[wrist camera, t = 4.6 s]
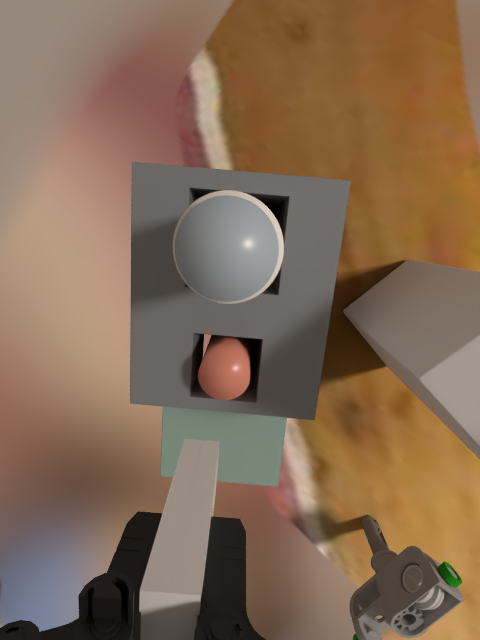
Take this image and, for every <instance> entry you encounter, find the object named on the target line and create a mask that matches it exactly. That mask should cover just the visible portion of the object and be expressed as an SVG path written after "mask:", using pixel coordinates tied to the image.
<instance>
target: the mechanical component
mask: <svg viewBox="0 0 480 640" xmlns="http://www.w3.org/2000/svg"><path fill="white" fill-rule="evenodd" d="M361 523H362V526H363V529H364V531H365V534H366V537H367V539H368V542H369V545H370V547H371V550H372V552H373V556H372V558H371V566H372V568H373V569H374V570H375V572H376V574H375V575H374V576H373V577H372V578H370V579H369V580H368V581H367V582H366V583H365V584H363V585H362V586H361V587H360V588H359V589H357V590H356V591H355V593H354V594H353V595H352V598H351V601H350V613H351V617H352V621H353V625H354V629H355V632H356V634H355V635H354V636H353V640H383V639H382V636H381V634H383V633H384V632H385V631H387V630H388V629H389V628H390V627H391V628H392V630H393V631H394V632H396V633H397V634H399V635H400V636H401V637H404V638H414V637H418V636H420V635H422V634H423V633H425V632H426V631H427V629H428V628H429V627H430V626H431V625H433V624H434V623H435V622H436V621H438V620H439V619H440V618H442V617H443V616H444V615H446V614H447V613H448V612H449V611H451V610H452V609H453V608H455V607H456V606H457V605H459V604H460V603H461V602H462V601H464V600H465V599H464V598H463V596H462V594H461V593H460V591H459V589H458V586H459V585H460V584H461V583H462V580H461V578H460V576H459V575H458V573H457V572H456V571H455V570H454V568H453V567H452V566H451V565H450V564H449V563H447V562H445V561H444V562H443V563H442V564H439V563H438V562H437V561H435V560H434V559H433V558H431V557H430V556H428V555H427V554H426V553H424V552H423V551H422V550H420V549H419V548H417V547H415V546H410V547H407V548H406V549H405V550H403V551H402V552H401V553H400V554H399V555H397V554H396V553H395V552H393V551H390V550H389V548H388V546H387V543H386V541H385V539H384V536H383V534H382V532H381V530H380V527H379V525H378V523H377V520H376V521H375V522H374V520H373V518H372V517H371V516H369V515H366V516H364V517H363V518H362V520H361ZM443 597H444V599H443ZM442 600H443V602H442ZM441 602H442V604H441ZM440 604H441V605H440ZM439 605H440V606H439ZM438 606H439V607H438ZM378 615H381V616H383V617H382V618H381V619H375V617H376V616H378Z"/></svg>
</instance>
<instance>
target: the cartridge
mask: <svg viewBox="0 0 480 640" xmlns="http://www.w3.org/2000/svg"><path fill="white" fill-rule="evenodd" d="M283 254H284V241H283V235H282V231H281V228H280V225H279V223H278V221H277V219H276V218H275V216H274V215H273V213H272V212H271V211H270V209H269V208H268V207H267V206H266V205H265V204H263V203H262V202H261V201H260V200H258V199H257V198H255V197H253V196H251V195H249V194H246V193H243V192H239V191H233V190H223V191H216V192H213V193H209V194H207V195H205V196H202V197H201V198H199V199H197V200H196V201H195V202H193V203H192V204H191V205H190V206H189V207H188V208H187V209H186V210H185V212H184V213H183V214H182V216H181V218H180V219H179V221H178V223H177V226H176V229H175V232H174V236H173V256H174V261H175V264H176V267H177V270H178V272H179V274H180V276H181V277H182V279H183V280H184V282H185V283H186V284H187V285H188V286H189V287H190V288H191V289H192V290H193V291H194V292H195V293H197V294H198V295H200V296H201V297H203V298H205V299H208V300H210V301H213V302H217V303H223V304H234V303H241V302H245V301H247V300H250V299H252V298H254V297H256V296H258V295H259V294H261V293H262V292H263V291H264V290H266V289H267V288H268V287H269V286H270V284H271V283H272V282H273V281H274V279H275V277H276V276H277V274H278V272H279V270H280V267H281V264H282V260H283Z"/></svg>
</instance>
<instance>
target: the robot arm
mask: <svg viewBox="0 0 480 640" xmlns="http://www.w3.org/2000/svg"><path fill="white" fill-rule="evenodd" d="M219 443H220V441H208V440H196V439H184V442H183V446H182V449H181V452H180V456H179V459H178V463H177V466H176V469H175V473H174V476H173V480H172V483H171V487H170V490H169V493H168V496H167V500H166V503H165V507H164V510H163V513H162V514H161V513H150V512H137V513H136V514H135V515H134V516H133V517H132V518H131V520H130V521H129V522H128V523H127V525H126V527H125V529H124V532H123V534H122V537H121V540H120V542H119V544H118V547H117V550H116V552H115V554H114V556H113V559H112V561H111V564H110V566H109V569H108V571H107V573H104V574H102V575H100V576H98V577H95V578H94V579H93V580H91V581H90V582H89V583H88V584H86V585H85V587H84V588H83V590H82V591H81V593H80V594H79V618H78V619H76V620H75V621H73V622H71V623H69V624H66V625H63V626H60V627H57V628H53V629H49V630H45V631H41V632H39V629H38V627H37V626H36V625H35V624H33V623H32V622H30V621H23V620H20V621H16V622H12V623H8V624H7V625H5V626H3V627H1V628H0V640H266V639H264V638H263V637H261V636H260V635H259V634H258V633H257V632H256V631H255V630H254V629H253V627H252V625H251V624H250V622H249V619H248V616H247V612H246V531H245V529H244V527H243V525H242V522H241V521H240V519H236V518H222V517H213V512H214V503H215V494H216V481H217V469H218V456H219Z"/></svg>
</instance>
